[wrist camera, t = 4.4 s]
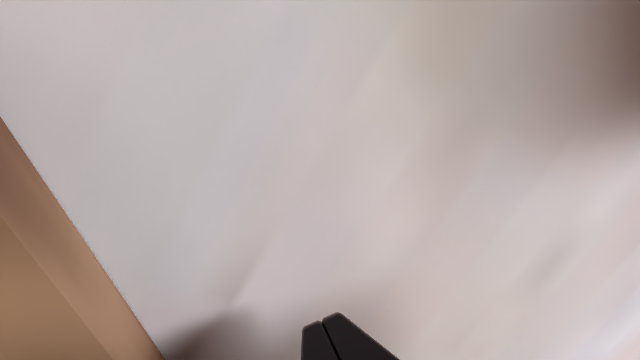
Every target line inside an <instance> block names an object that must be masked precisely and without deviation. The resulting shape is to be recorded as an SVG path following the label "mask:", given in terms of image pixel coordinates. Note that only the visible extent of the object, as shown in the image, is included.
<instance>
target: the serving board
mask: <svg viewBox="0 0 640 360" xmlns="http://www.w3.org/2000/svg"><path fill="white" fill-rule="evenodd" d="M0 360H165V359H164V357H163V356H162V355H161V353H160V352H159V350H158V349H157V347H156V346H155V344H154V343H153V341H152V340H151V338H150V337H149V335H148V334H147V332H146V331H145V329H144V328H143V327H142V325H141V324H140V322H139V321H138V319H137V318H136V316H135V315H134V313H133V312H132V310H131V309H130V307H129V306H128V304H127V303H126V301H125V300H124V299H123V297H122V296H121V294H120V293H119V291H118V290H117V288H116V287H115V285H114V284H113V282H112V281H111V279H110V278H109V276H108V275H107V273H106V272H105V271H104V269H103V268H102V266H101V265H100V263H99V262H98V260H97V259H96V257H95V256H94V254H93V253H92V251H91V250H90V248H89V247H88V245H87V244H86V243H85V241H84V240H83V238H82V237H81V235H80V234H79V232H78V231H77V229H76V228H75V226H74V225H73V223H72V222H71V220H70V219H69V217H68V216H67V215H66V213H65V212H64V210H63V209H62V207H61V206H60V204H59V203H58V201H57V200H56V198H55V197H54V195H53V194H52V192H51V191H50V189H49V188H48V187H47V185H46V184H45V182H44V181H43V179H42V178H41V176H40V175H39V173H38V172H37V170H36V169H35V167H34V166H33V164H32V163H31V161H30V160H29V159H28V157H27V156H26V154H25V153H24V151H23V150H22V148H21V147H20V145H19V144H18V142H17V141H16V139H15V138H14V136H13V135H12V133H11V132H10V131H9V129H8V128H7V126H6V125H5V123H4V122H3V120H2V119H1V117H0Z"/></svg>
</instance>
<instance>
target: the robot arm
mask: <svg viewBox="0 0 640 360" xmlns="http://www.w3.org/2000/svg"><path fill="white" fill-rule="evenodd" d="M301 360H399V359H398V358H397V357H396V356H394V355H393V354H392V353H391V352H389V351H388V350H387V349H386V348H384V347H383V346H382V345H380V344H379V343H378V342H377V341H375V340H374V339H373V338H372V337H370V336H369V335H368V334H367V333H365V332H364V331H363V330H361V329H360V328H359V327H358V326H356V325H355V324H354V323H353V322H351V321H350V320H349V319H348V318H346V317H345V316H344V315H342V314H341V313H338V312H337V313H334V314H332V315H329V316H327V317H325V318H323V319H322V322H321V321H316V322H313V323H311V324H309V325H306V326H305V327H304V328H303V330H302V347H301Z"/></svg>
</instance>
